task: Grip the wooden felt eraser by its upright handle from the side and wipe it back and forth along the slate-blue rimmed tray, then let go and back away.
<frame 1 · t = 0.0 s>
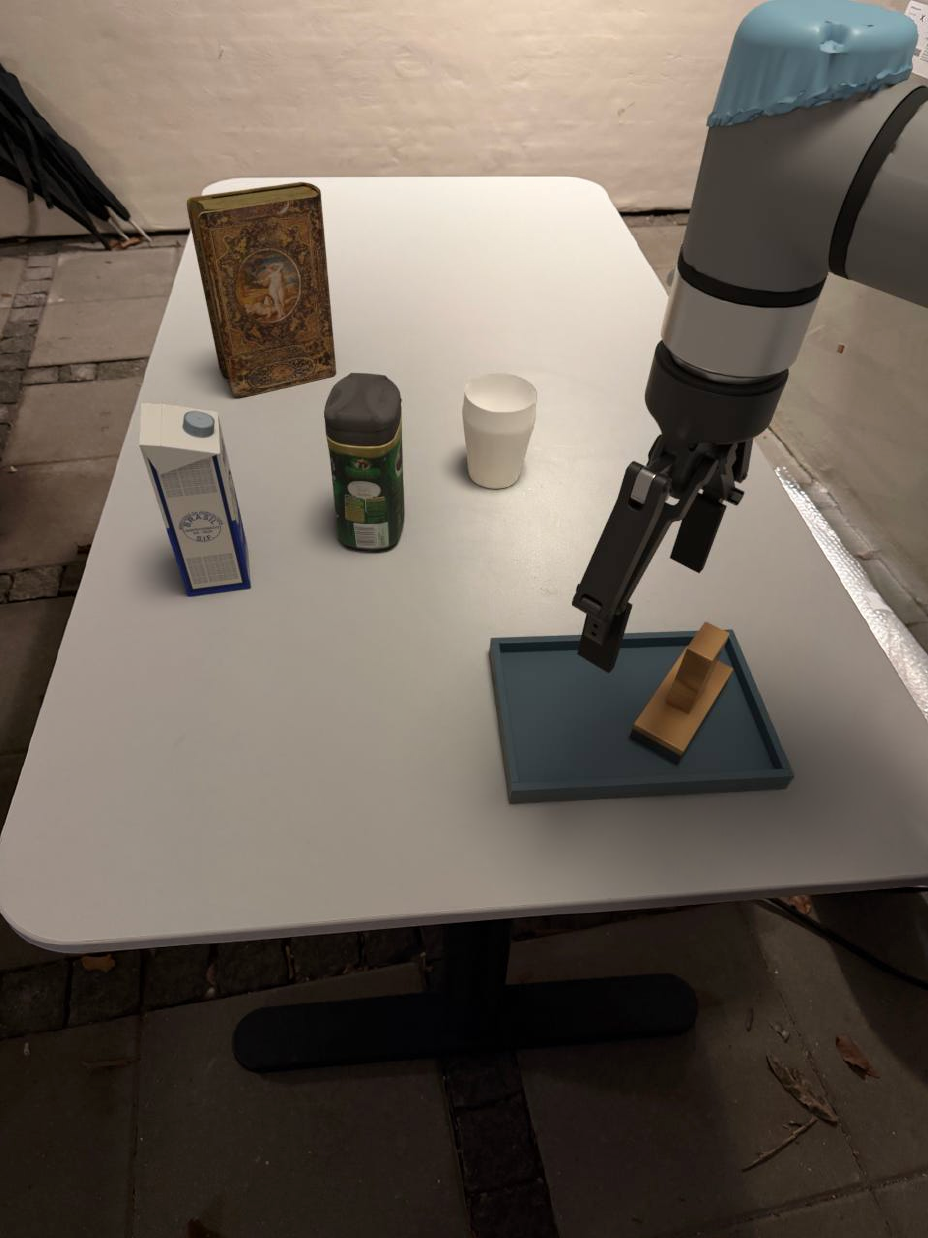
hand: (643, 609, 59), 19 cm above the table, tool pointing down, fingers open, 13 cm apart
cup: (493, 475, 101), on the table
milk carton: (219, 572, 87), on the table
eraser: (679, 709, 76), point 1 cm above the table, touching tray
tray: (628, 716, 76), on the table
coffee jar: (370, 528, 93), on the table
book: (282, 379, 115), on the table
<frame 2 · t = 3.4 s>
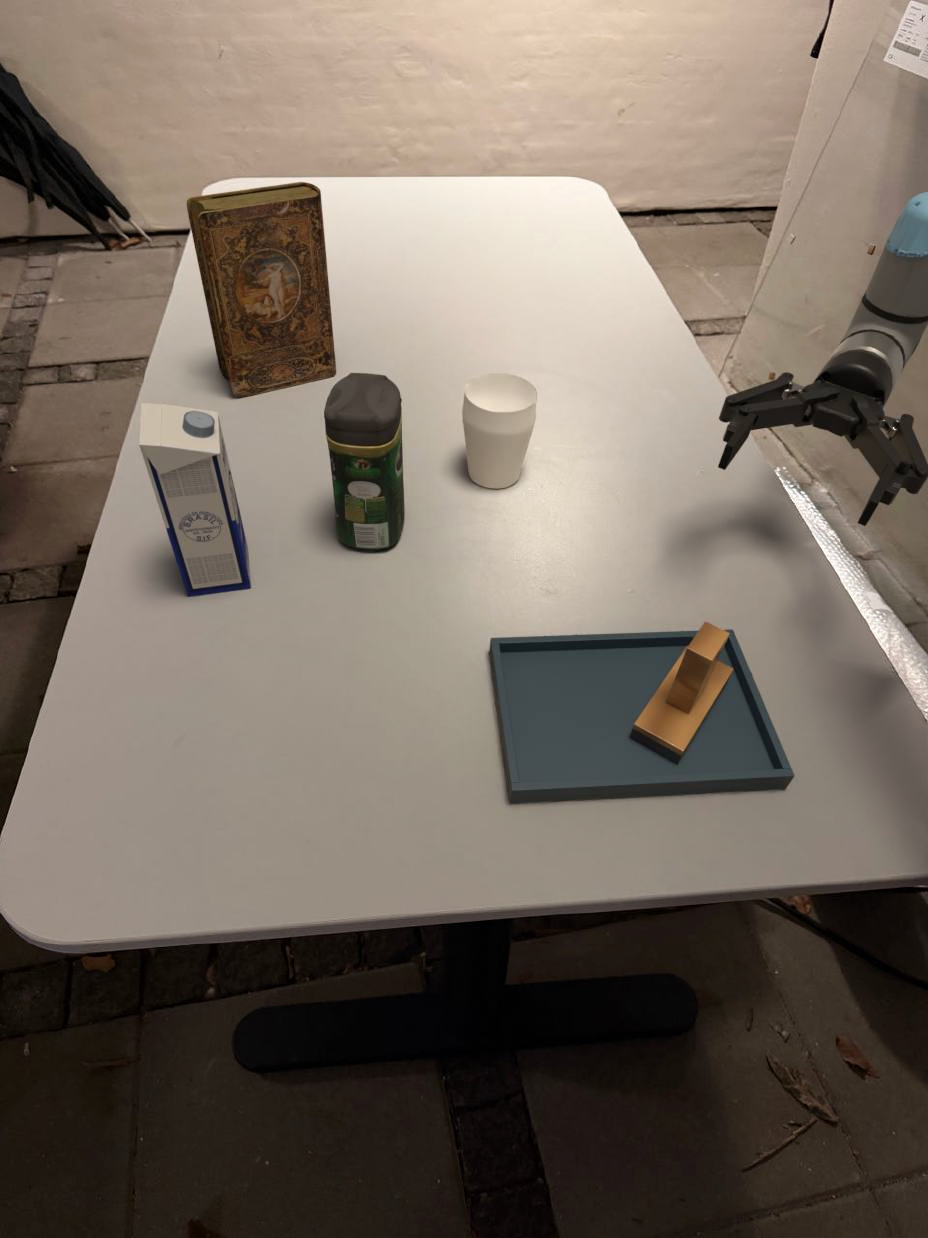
hand: (794, 484, 72), 18 cm above the table, tool horizontal, fingers open, 13 cm apart
nothing on the table moved.
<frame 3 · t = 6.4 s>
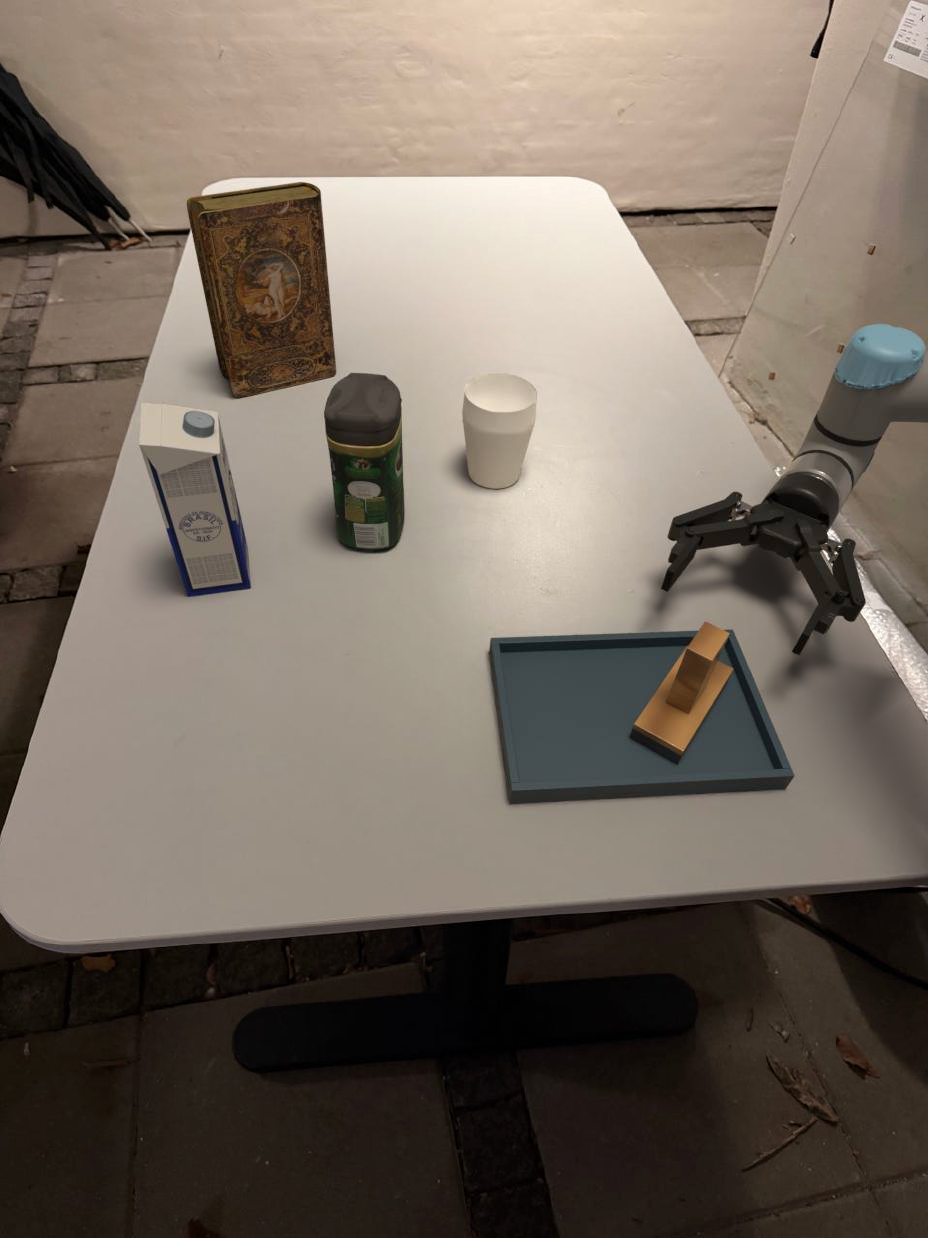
hand: (731, 612, 74), 8 cm above the table, tool horizontal, fingers open, 13 cm apart
nothing on the table moved.
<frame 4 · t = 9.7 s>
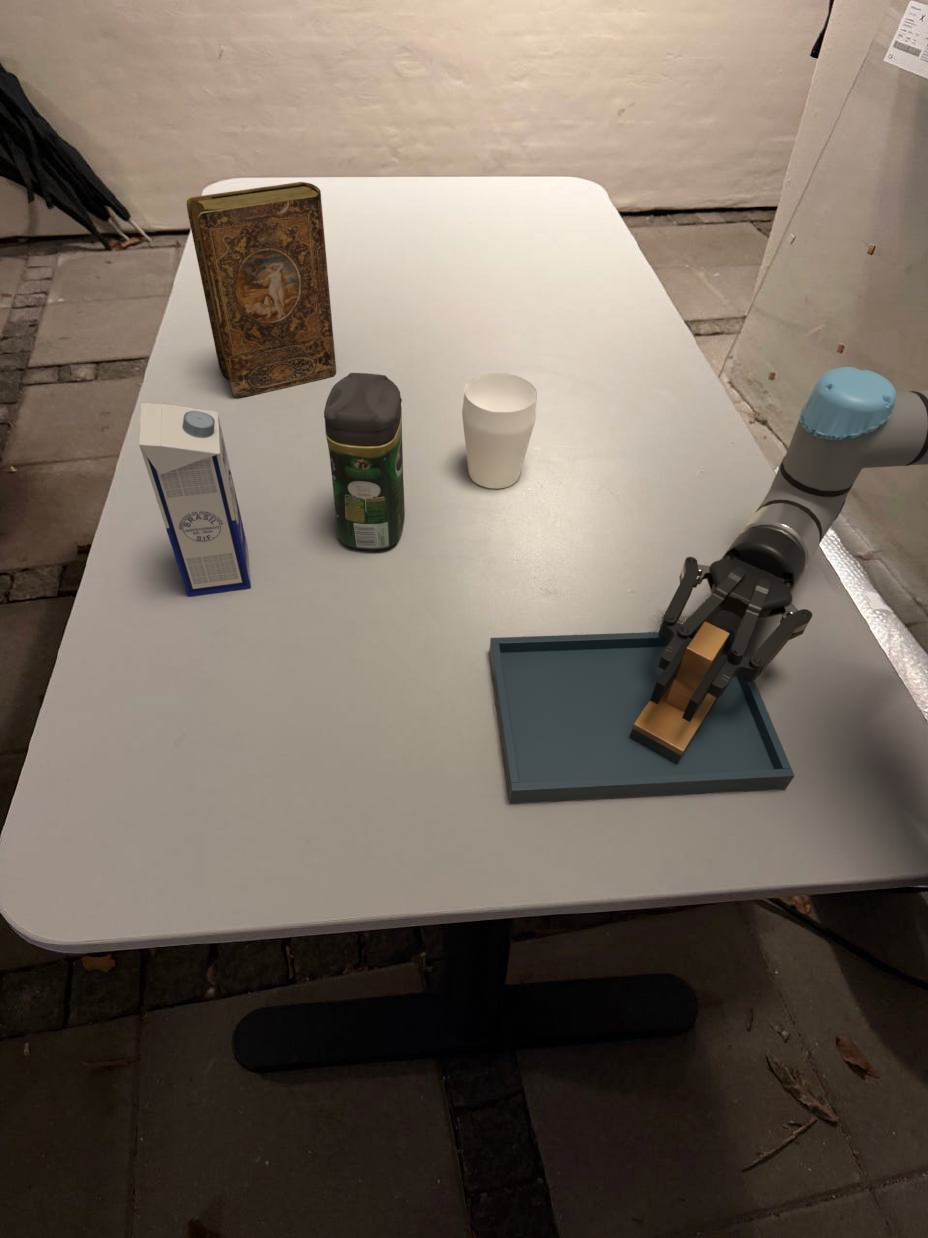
hand: (673, 701, 67), 8 cm above the table, tool horizontal, fingers closed on eraser, 2 cm apart
eraser: (679, 709, 76), point 1 cm above the table, touching gripper, tray
everything else where it was.
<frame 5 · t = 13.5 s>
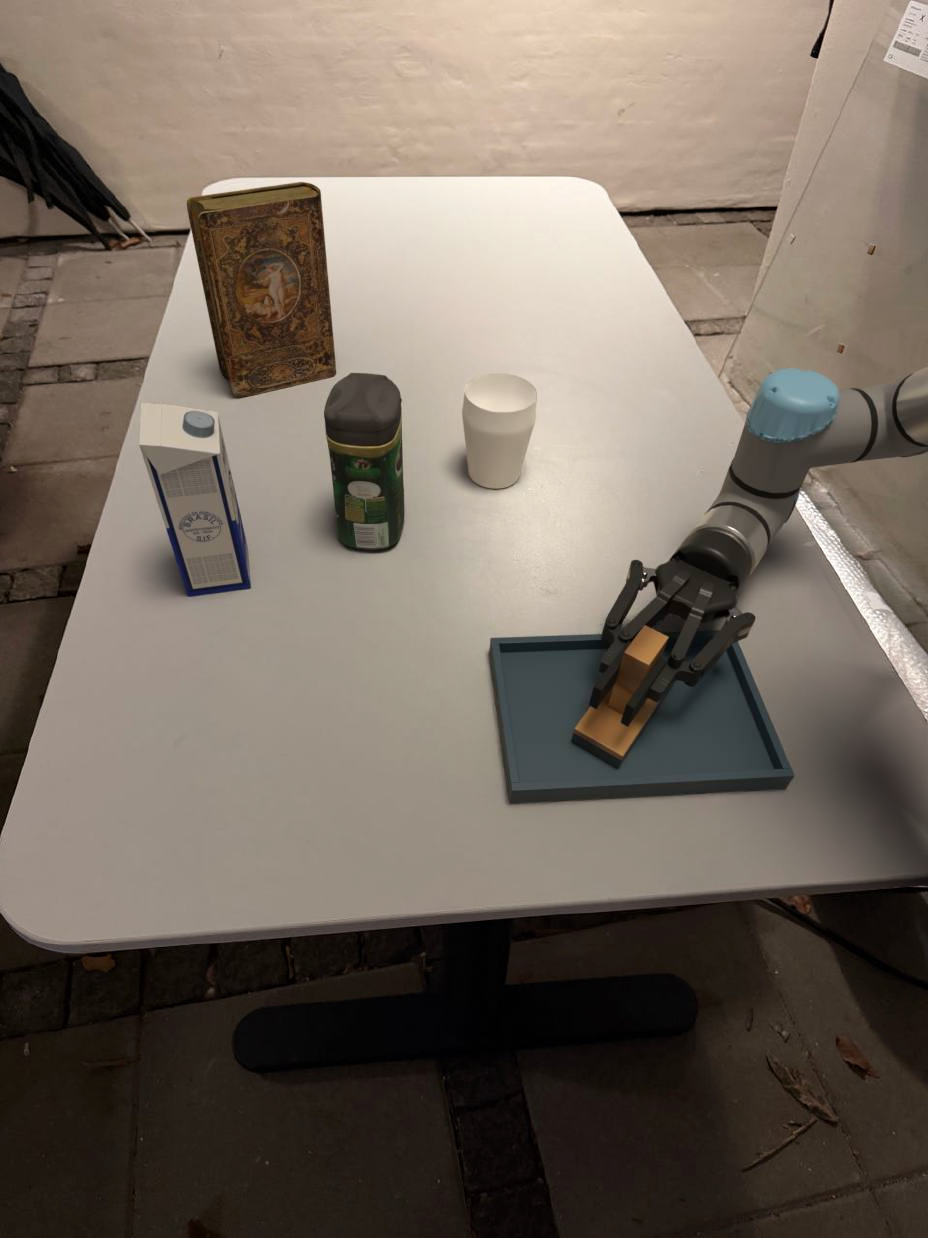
hand: (611, 706, 67), 8 cm above the table, tool horizontal, fingers closed on eraser, 2 cm apart
eraser: (623, 713, 75), point 1 cm above the table, touching gripper
everything else where it was.
when the fingers open (8 cm above the table, at t = 17.8 s): eraser stays where it is, resting on tray.
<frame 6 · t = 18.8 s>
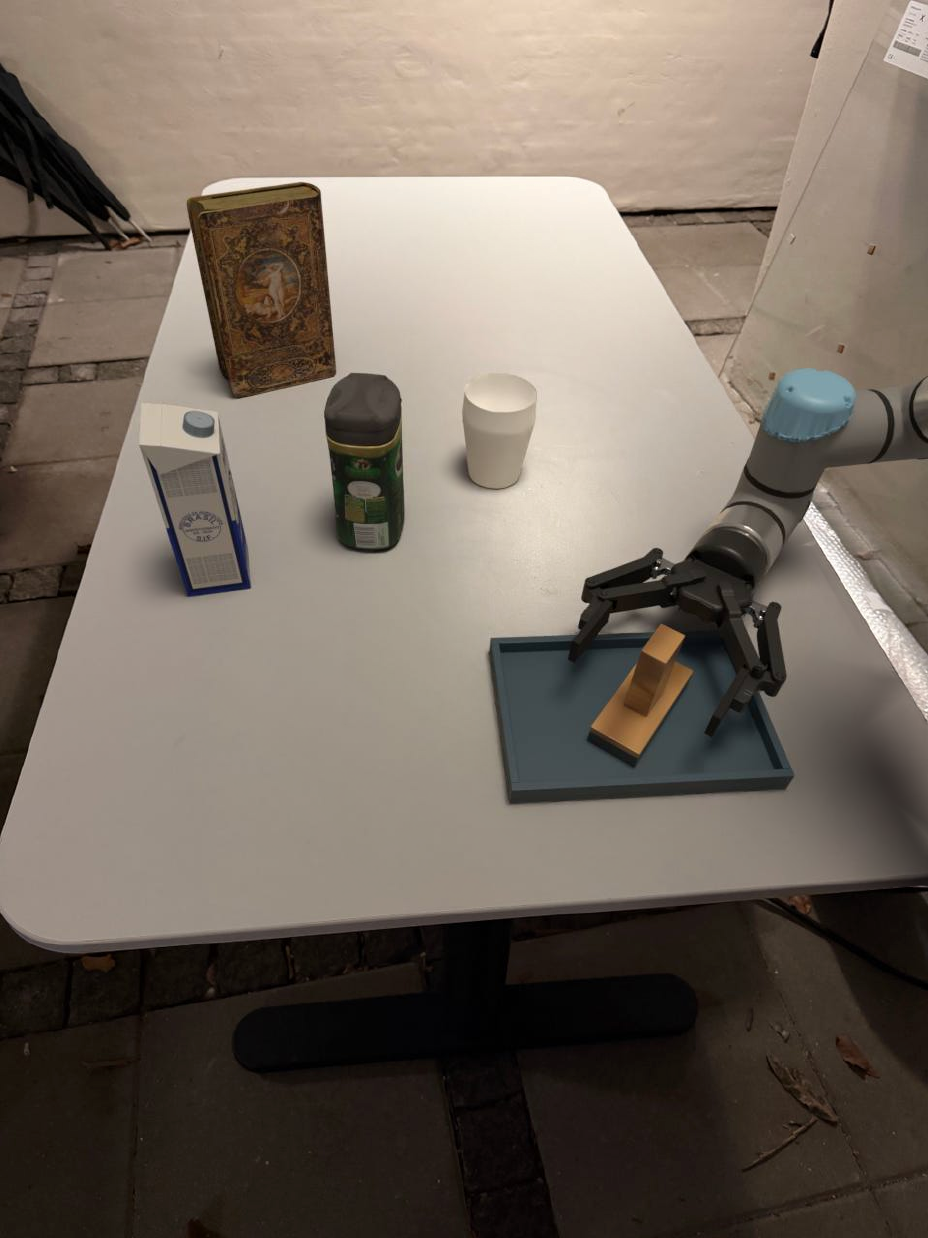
hand: (640, 688, 68), 8 cm above the table, tool horizontal, fingers open, 13 cm apart
eraser: (639, 711, 75), point 1 cm above the table, touching tray
everything else where it was.
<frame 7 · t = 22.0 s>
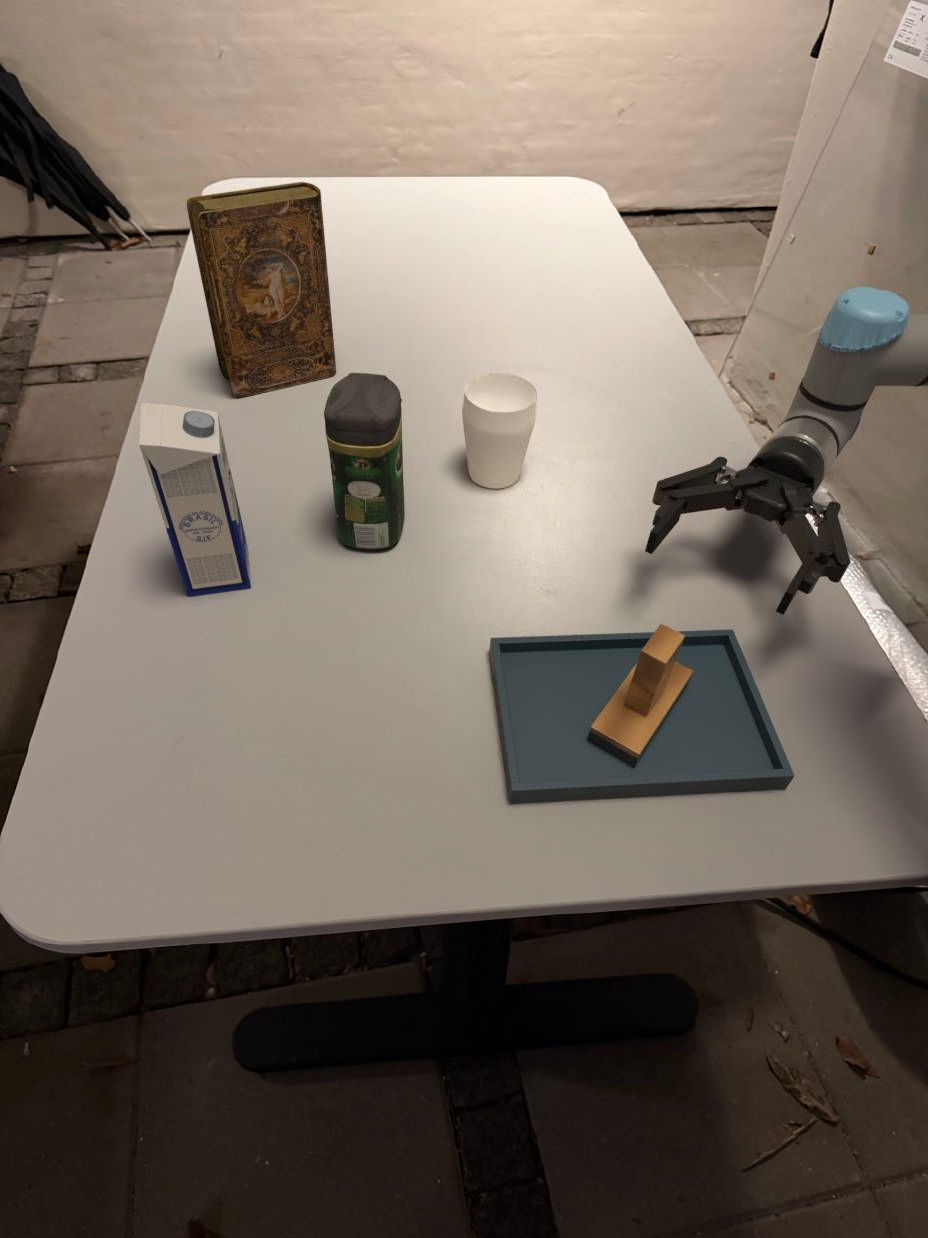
hand: (715, 572, 74), 11 cm above the table, tool horizontal, fingers open, 13 cm apart
nothing on the table moved.
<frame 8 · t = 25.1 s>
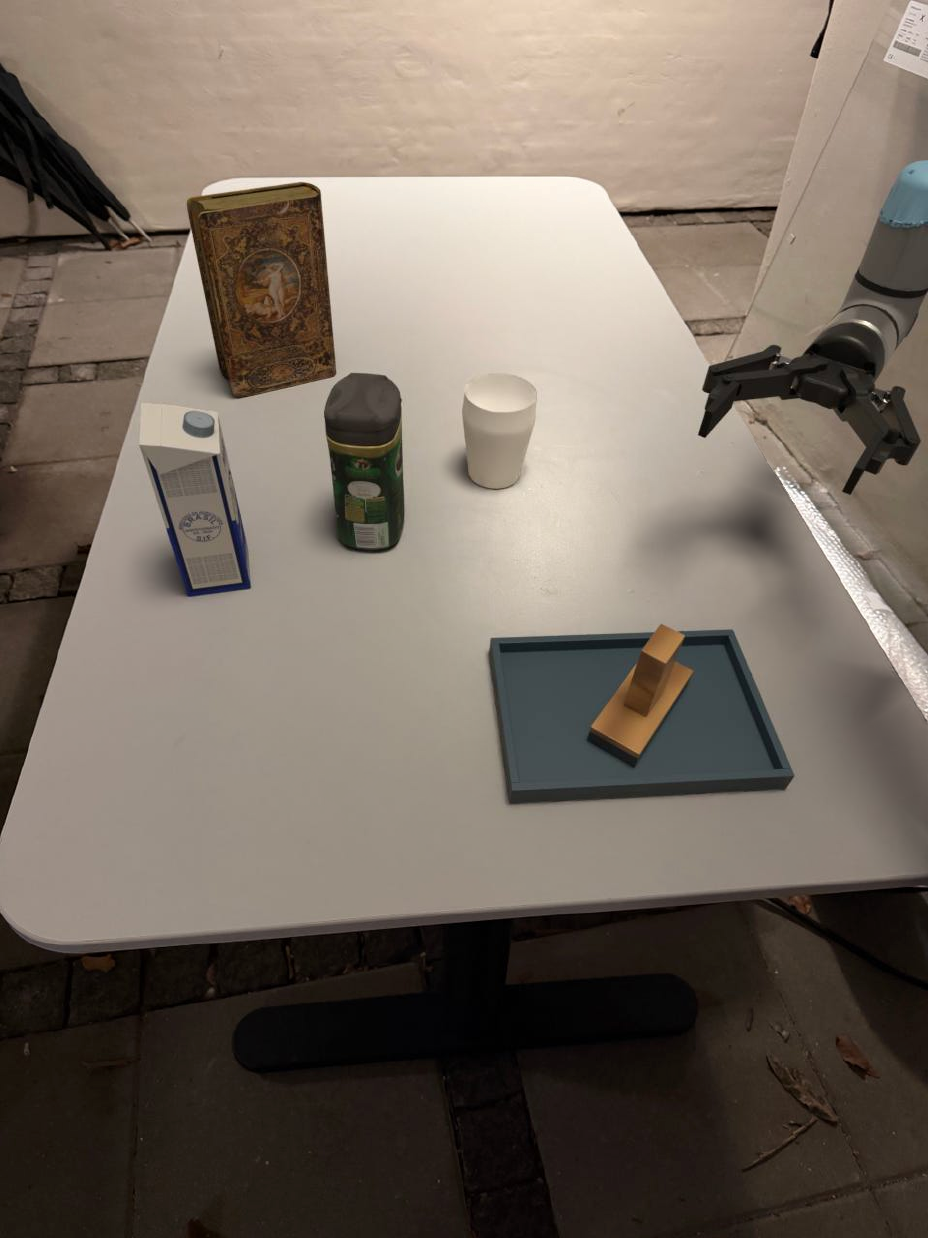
hand: (776, 451, 69), 22 cm above the table, tool horizontal, fingers open, 13 cm apart
nothing on the table moved.
at the end: eraser inside the target area in the tray (0.9 cm from its centre), point 0.8 cm above the tray's base; eraser moved 4.1 cm from its start; eraser tilted 0° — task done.
